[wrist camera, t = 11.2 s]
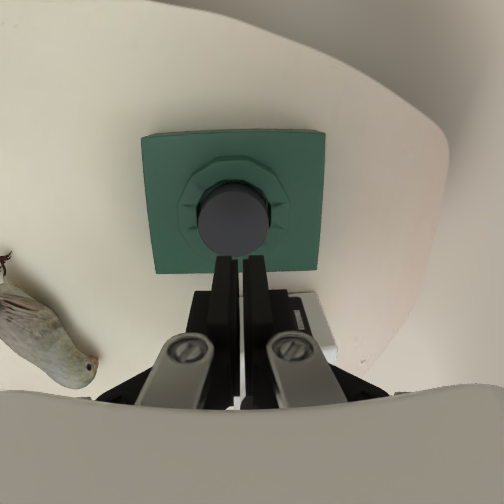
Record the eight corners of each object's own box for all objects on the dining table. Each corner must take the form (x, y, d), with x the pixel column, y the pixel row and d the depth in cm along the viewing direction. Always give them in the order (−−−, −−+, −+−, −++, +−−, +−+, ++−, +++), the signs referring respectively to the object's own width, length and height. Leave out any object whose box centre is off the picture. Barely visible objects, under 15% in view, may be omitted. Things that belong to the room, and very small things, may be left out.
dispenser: (315, 130, 22) (334, 135, 18) (309, 253, 26) (323, 284, 22) (152, 134, 22) (130, 140, 17) (163, 256, 26) (149, 288, 21)
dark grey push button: (266, 182, 19) (269, 190, 17) (265, 243, 21) (268, 256, 19) (199, 183, 19) (195, 192, 17) (203, 244, 21) (200, 258, 19)
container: (229, 295, 28) (225, 419, 16) (317, 290, 28) (360, 406, 16) (235, 359, 31) (236, 474, 19) (311, 354, 31) (339, 463, 19)
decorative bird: (87, 369, 32) (66, 418, 25) (-10, 268, 26) (-49, 305, 19) (114, 352, 30) (93, 406, 24) (9, 240, 25) (-36, 277, 18)
